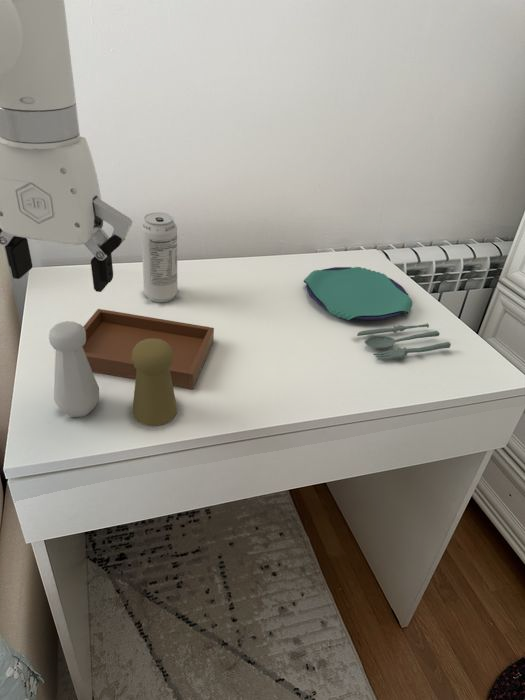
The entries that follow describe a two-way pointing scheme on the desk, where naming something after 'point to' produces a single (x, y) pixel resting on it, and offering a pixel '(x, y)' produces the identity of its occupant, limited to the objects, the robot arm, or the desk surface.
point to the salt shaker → (72, 370)
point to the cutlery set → (366, 304)
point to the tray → (127, 330)
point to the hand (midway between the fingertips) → (62, 279)
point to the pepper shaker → (153, 383)
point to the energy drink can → (159, 256)
